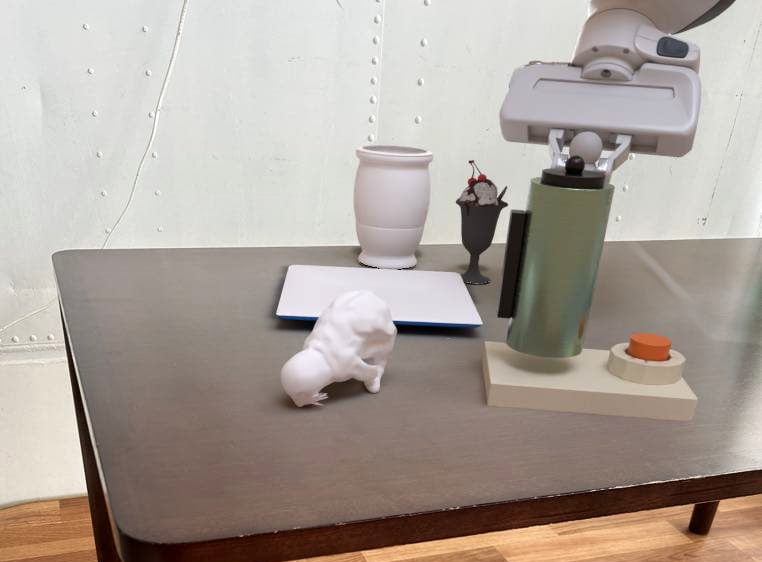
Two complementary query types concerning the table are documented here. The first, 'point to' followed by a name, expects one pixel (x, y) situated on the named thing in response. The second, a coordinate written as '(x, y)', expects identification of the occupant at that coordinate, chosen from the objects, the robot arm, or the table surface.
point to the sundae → (479, 220)
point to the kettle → (554, 260)
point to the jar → (391, 204)
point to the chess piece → (587, 149)
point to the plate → (381, 294)
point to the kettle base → (589, 383)
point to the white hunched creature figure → (342, 347)
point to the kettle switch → (649, 347)
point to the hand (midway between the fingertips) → (579, 176)
